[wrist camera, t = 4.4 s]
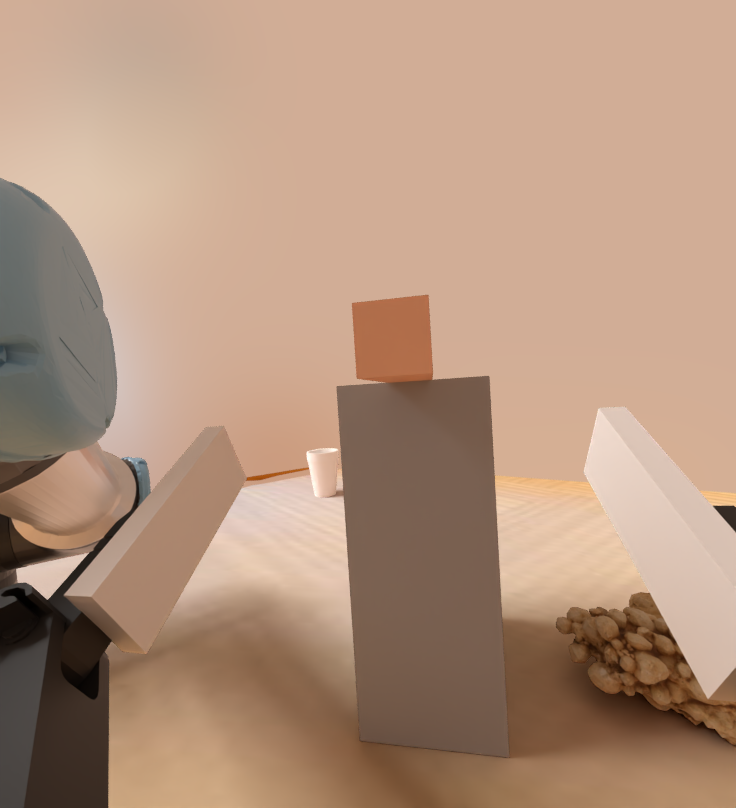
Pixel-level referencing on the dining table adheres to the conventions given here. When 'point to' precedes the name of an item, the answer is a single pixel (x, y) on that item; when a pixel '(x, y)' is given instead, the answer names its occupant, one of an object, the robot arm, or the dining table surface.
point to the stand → (424, 564)
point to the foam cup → (323, 470)
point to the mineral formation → (643, 661)
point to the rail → (393, 339)
